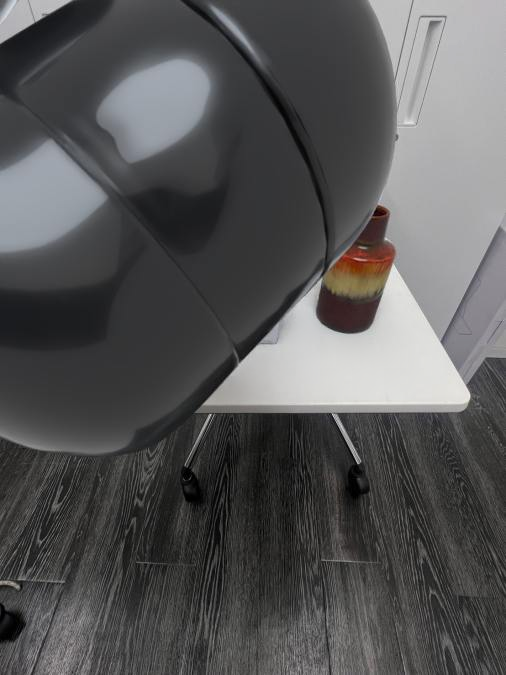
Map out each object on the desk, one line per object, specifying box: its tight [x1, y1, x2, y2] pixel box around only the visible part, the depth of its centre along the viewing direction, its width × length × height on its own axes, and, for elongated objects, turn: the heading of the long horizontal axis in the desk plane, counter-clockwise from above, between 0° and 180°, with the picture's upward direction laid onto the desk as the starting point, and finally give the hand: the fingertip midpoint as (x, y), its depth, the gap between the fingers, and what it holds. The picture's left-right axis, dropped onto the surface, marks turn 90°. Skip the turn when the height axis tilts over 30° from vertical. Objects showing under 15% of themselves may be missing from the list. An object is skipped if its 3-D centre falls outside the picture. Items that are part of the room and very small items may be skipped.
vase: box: [315, 204, 397, 334], centre depth 58 cm, size 11×11×20 cm
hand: (164, 332), depth 39 cm, fingers open, 8 cm apart
